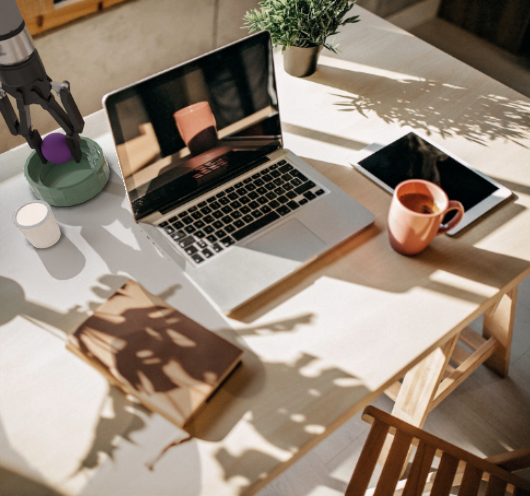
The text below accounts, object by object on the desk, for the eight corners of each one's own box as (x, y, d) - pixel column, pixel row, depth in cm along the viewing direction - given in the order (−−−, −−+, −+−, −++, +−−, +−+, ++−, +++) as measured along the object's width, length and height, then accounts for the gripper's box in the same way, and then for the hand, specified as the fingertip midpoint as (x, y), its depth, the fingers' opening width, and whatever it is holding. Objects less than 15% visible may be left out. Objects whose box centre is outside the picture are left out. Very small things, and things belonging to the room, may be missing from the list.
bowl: (25, 209, 99) (14, 191, 94) (43, 154, 108) (34, 136, 104) (103, 207, 99) (95, 189, 94) (115, 152, 108) (108, 134, 104)
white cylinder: (55, 253, 92) (41, 230, 86) (21, 249, 93) (4, 226, 87) (70, 225, 96) (57, 201, 90) (36, 221, 97) (22, 197, 91)
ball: (45, 171, 97) (32, 148, 92) (52, 150, 100) (40, 126, 95) (75, 169, 97) (64, 146, 92) (81, 148, 100) (70, 125, 95)
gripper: (-55, 69, 77) (10, 173, 96) (66, 65, 77) (107, 170, 96) (-39, 42, 82) (20, 147, 101) (75, 38, 82) (113, 144, 101)
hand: (62, 158), depth 98 cm, fingers closed on ball, 6 cm apart
